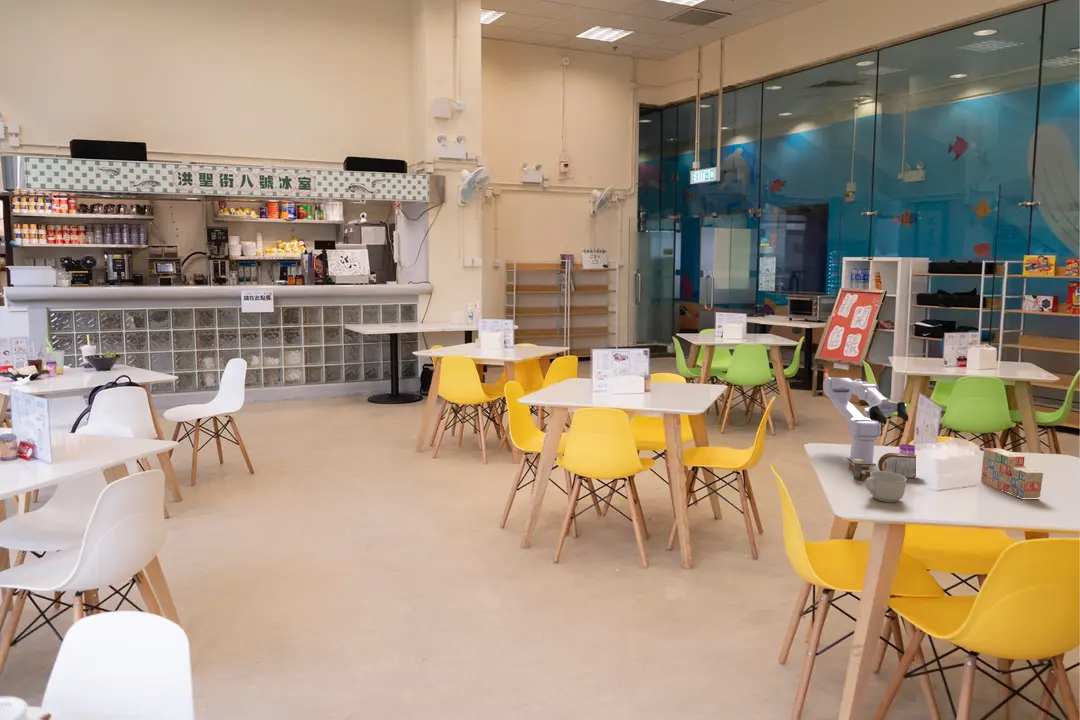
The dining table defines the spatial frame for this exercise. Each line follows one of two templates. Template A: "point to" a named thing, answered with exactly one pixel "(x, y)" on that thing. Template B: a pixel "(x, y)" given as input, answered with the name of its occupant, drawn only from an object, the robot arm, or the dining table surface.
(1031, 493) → the stack of blocks
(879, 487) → the teacup
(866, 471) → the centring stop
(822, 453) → the dining table surface
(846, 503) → the dining table surface
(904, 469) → the tin
